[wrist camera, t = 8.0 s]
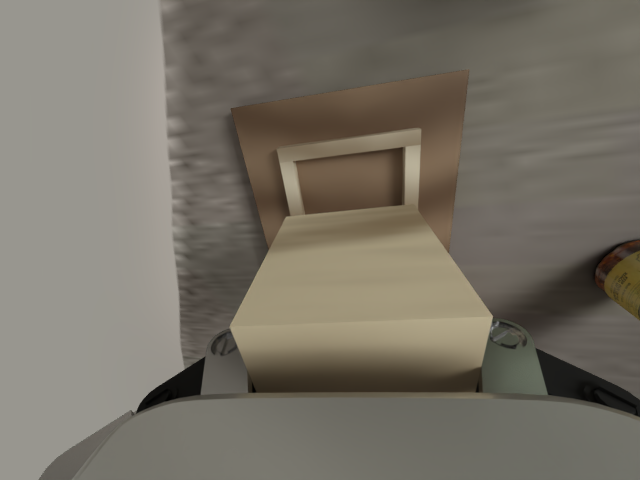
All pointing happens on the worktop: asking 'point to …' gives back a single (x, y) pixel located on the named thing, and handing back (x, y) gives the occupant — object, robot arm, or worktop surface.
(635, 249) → the sauce bottle
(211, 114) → the worktop surface
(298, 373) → the maple block
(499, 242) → the worktop surface
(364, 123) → the base plate
